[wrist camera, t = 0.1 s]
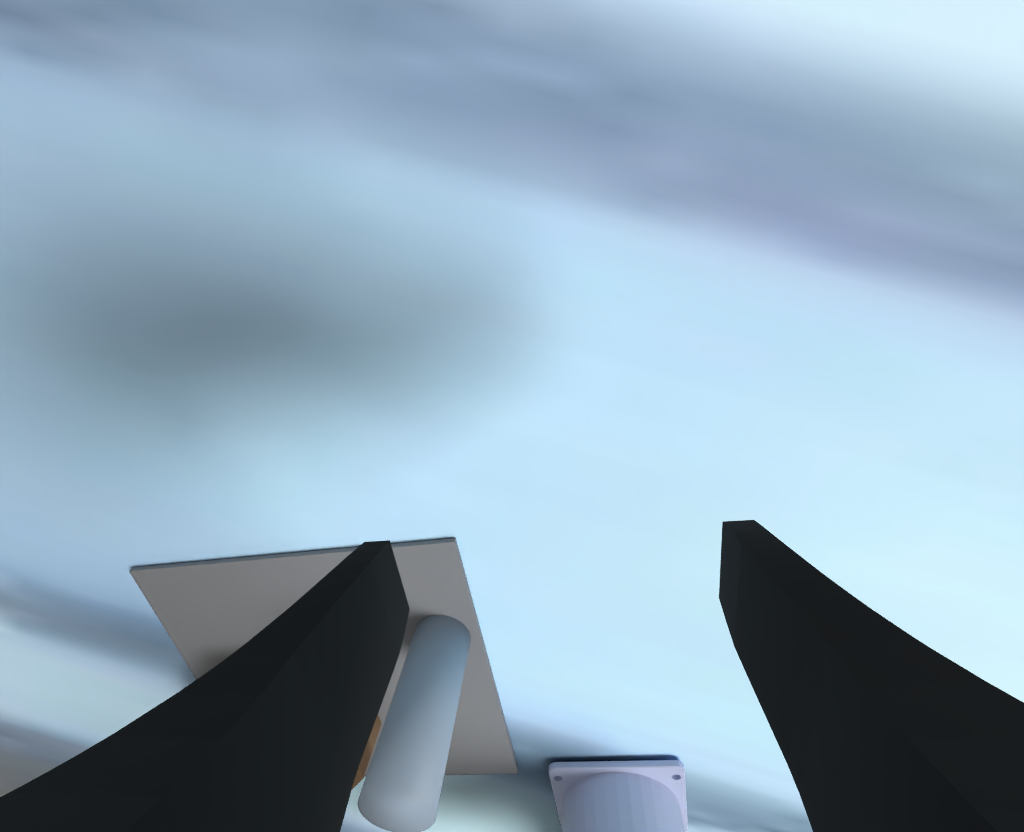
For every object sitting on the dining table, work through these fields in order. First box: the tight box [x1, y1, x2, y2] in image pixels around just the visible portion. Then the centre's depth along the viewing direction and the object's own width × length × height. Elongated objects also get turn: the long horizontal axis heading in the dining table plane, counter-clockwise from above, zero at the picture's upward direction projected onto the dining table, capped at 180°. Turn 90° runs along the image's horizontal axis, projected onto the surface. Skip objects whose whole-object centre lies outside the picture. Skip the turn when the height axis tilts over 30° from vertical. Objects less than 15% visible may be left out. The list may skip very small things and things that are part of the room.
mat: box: [129, 538, 518, 776], centre depth 27 cm, size 18×18×1 cm
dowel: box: [358, 615, 471, 832], centre depth 22 cm, size 3×3×8 cm
